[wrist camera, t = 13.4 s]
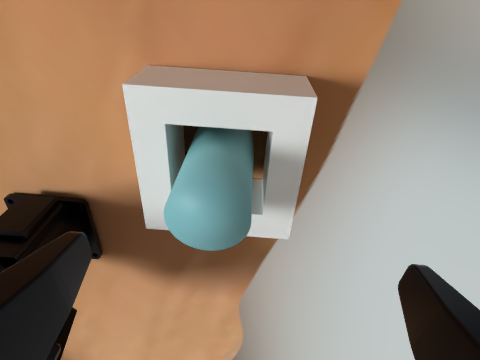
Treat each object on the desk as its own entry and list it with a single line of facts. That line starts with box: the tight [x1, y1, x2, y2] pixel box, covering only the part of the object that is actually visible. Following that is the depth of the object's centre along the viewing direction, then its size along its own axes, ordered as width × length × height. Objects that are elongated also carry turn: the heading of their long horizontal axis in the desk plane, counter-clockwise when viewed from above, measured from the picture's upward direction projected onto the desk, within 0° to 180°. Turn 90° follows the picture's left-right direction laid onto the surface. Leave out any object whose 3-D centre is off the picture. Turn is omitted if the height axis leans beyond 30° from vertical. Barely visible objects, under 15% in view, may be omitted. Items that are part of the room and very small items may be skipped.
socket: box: [122, 65, 317, 239], centre depth 18 cm, size 9×9×4 cm
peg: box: [164, 126, 254, 251], centre depth 17 cm, size 4×4×8 cm
